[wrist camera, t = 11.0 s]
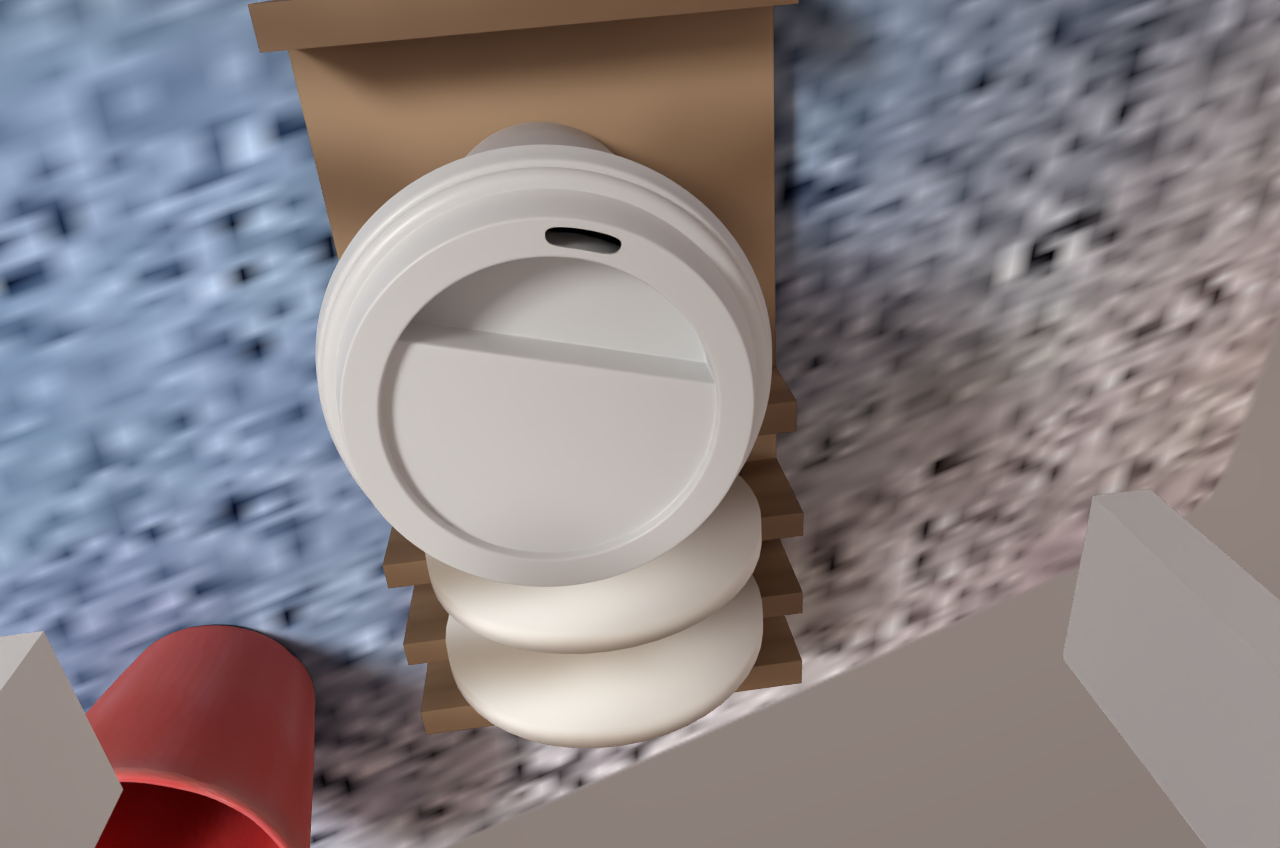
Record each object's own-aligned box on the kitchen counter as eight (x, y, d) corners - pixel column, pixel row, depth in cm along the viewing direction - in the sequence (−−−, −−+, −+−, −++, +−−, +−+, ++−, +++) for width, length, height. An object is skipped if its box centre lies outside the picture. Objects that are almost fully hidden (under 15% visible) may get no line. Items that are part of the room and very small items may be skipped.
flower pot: (354, 599, 38) (302, 784, 30) (348, 781, 43) (302, 986, 34) (84, 582, 36) (-55, 773, 28) (109, 774, 41) (-2, 989, 33)
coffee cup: (736, 175, 30) (896, 342, 17) (588, 395, 34) (625, 678, 20) (487, 5, 27) (447, 48, 14) (349, 265, 30) (208, 501, 17)
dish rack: (285, -2, 28) (128, 21, 17) (763, -44, 28) (905, -47, 18) (438, 645, 40) (404, 900, 29) (770, 601, 41) (857, 832, 30)
